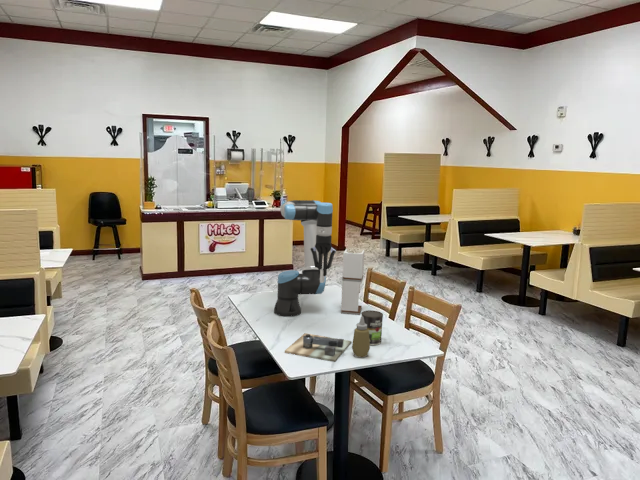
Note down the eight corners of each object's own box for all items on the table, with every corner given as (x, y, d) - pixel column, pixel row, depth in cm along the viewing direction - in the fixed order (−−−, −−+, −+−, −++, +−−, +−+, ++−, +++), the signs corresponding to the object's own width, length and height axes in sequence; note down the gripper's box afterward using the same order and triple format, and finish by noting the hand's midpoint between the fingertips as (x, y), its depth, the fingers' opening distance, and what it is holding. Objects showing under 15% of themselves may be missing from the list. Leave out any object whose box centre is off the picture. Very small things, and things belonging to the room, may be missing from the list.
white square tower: (359, 315, 278) (362, 254, 272) (340, 313, 279) (343, 252, 273) (361, 309, 289) (364, 250, 283) (343, 307, 290) (345, 249, 284)
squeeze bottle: (350, 351, 227) (352, 313, 224) (367, 351, 227) (369, 313, 224) (352, 358, 219) (354, 319, 216) (370, 358, 219) (372, 319, 216)
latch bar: (302, 347, 226) (302, 337, 225) (304, 344, 230) (304, 334, 229) (341, 352, 222) (342, 342, 221) (343, 348, 226) (343, 338, 225)
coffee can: (385, 343, 238) (387, 315, 235) (367, 346, 233) (369, 318, 230) (373, 336, 246) (375, 309, 244) (356, 339, 242) (357, 311, 239)
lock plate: (284, 352, 223) (284, 338, 222) (304, 335, 245) (305, 321, 244) (335, 362, 215) (335, 346, 213) (351, 342, 237) (351, 329, 236)
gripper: (308, 234, 238) (307, 282, 243) (334, 237, 234) (332, 285, 238) (314, 232, 245) (312, 278, 250) (339, 234, 241) (337, 281, 245)
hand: (322, 282), depth 244 cm, fingers closed
